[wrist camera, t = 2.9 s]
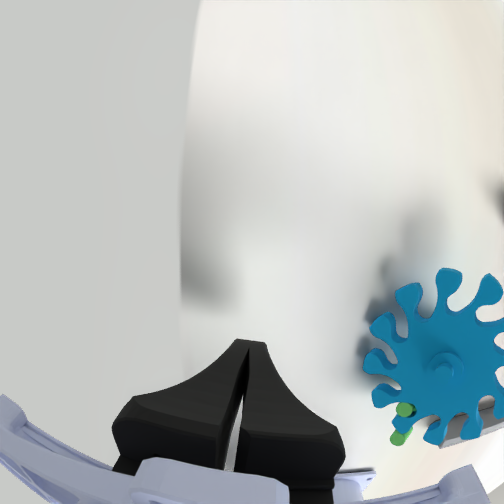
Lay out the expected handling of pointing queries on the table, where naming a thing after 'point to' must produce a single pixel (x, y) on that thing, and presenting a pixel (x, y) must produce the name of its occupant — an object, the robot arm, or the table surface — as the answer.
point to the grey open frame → (457, 423)
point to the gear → (439, 360)
